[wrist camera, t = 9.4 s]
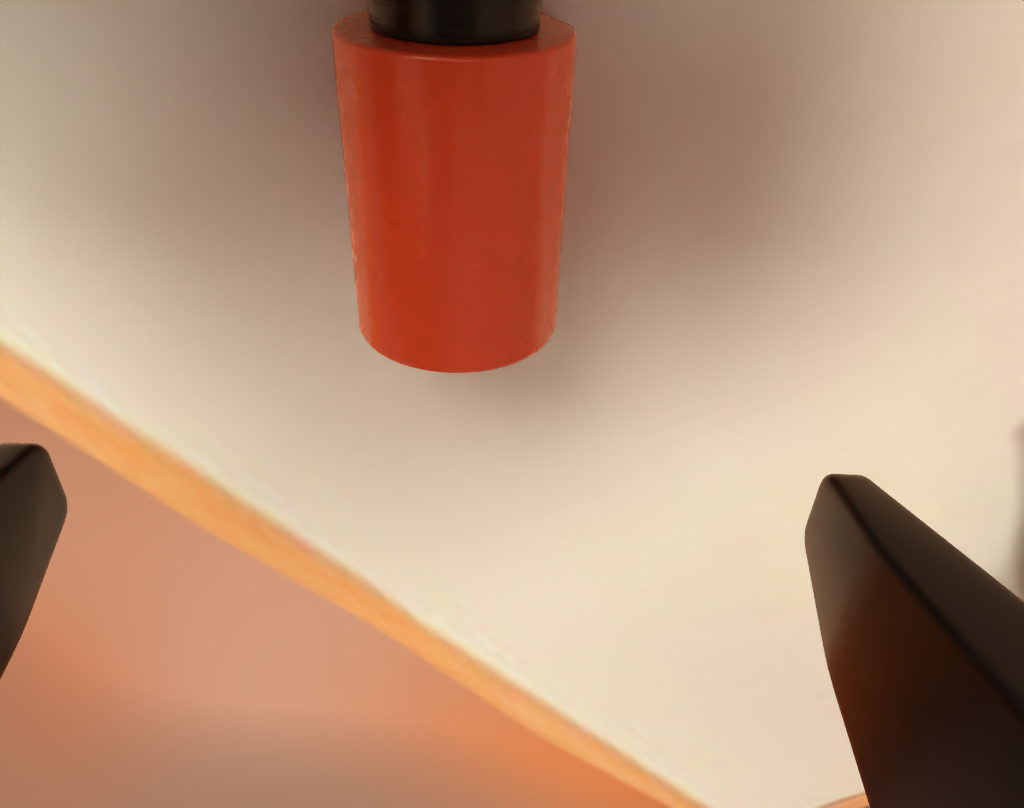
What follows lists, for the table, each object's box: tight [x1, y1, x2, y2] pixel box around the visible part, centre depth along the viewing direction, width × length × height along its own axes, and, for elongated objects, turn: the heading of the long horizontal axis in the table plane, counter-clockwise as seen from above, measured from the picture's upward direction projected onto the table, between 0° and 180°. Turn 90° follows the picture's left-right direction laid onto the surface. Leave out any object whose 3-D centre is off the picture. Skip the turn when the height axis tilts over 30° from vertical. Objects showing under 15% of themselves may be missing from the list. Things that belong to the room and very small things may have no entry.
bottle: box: [332, 0, 576, 373], centre depth 17 cm, size 8×5×5 cm, turn 179°
